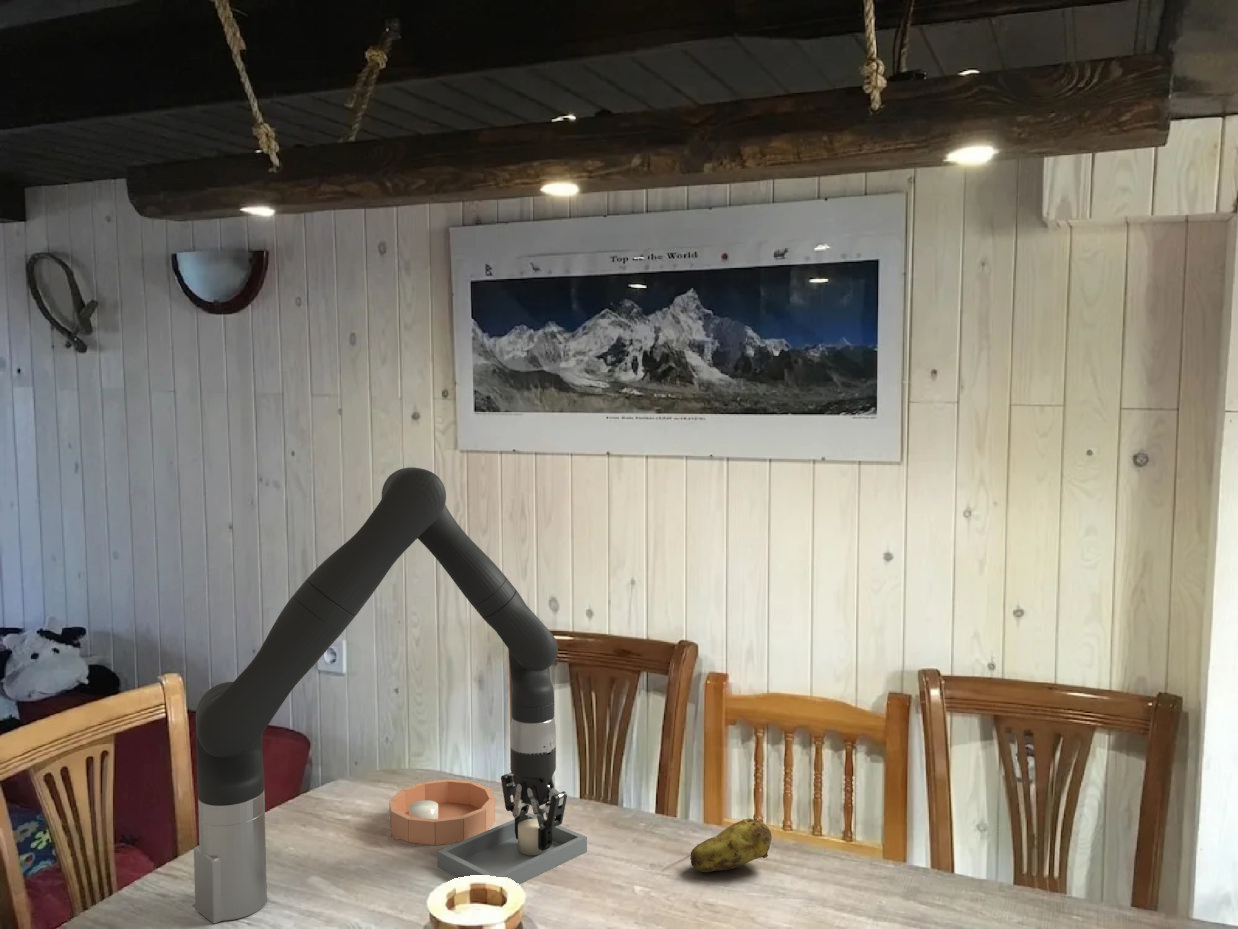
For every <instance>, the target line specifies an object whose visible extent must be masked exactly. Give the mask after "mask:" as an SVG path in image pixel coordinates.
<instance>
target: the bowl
mask: <svg viewBox="0 0 1238 929" xmlns="http://www.w3.org/2000/svg"><path fill="white" fill-rule="evenodd" d="M423 800H429V801H434V802H436V803H437V804H438V819H427V818H417V817H411V816H409V806H410V805H411V804H412V803H414V802H417V801H423ZM388 802H389V803H388V806H389V808H388V809H389V811H388V812H389V813H388V814H389V815H388V816H389V819H388V820H389V826H390V835H391V838H392V839H393V840H394V841H397V840H400V839H401V840H403V841H404V842H407V843H412V844H418V845H419V844H420V845H427V846H428V845H431V846H439V845H447V844H449V845H450V844H456V843H459V842H461V841H463V840H466V839H468V838H471V837H473V836H475V835H478V834H480V833H483V832H485V831H488V830H490V829H491V827H492V825H493V824H494V823H495V821H496V798H495V796H494V793H493V792H492V789H491V788H490V787H488V786H486V785H483V784H481V783H478V782H476V781H471V780H462V779H461V780H459V779H450V778H449V779H439V780H431V781H423V782H420V783H417V784H414V785H411V786H408V787H406V788H402V789H400V790H399V791H398V792H397V793H396V794H394V796H392V797H391V798H390V799H389V800H388Z"/></svg>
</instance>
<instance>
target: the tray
mask: <svg viewBox="0 0 1238 929" xmlns="http://www.w3.org/2000/svg"><path fill="white" fill-rule="evenodd" d="M526 815H528V819H537V816H536V815H534V813H531V812H529V813H527V814H526ZM587 852H588V836H586V835H583V834H581V833H579V832H576V831H574V830H572V829H569V828H567V827H564V826H561V825H558V826H555V827H553V828H552V845H551V846H550V848H548V850H547V851H546V852H545V853H543V854H540V855H525V854H522V853H520V852H519V851H518V839H516V835H515V818H514V819H512V820H509V821H507V822H505V823H502V824H499V825H498V826H495V827H492V828H489V829H488V830H487V831H485V832H483V833H480V834H478V835H475V836H473V837H471V838H468V839H466V840H463V841H461V842H456V843H453V844H451V845H450V846H447V847H445V848H442V849H440V850H437V854H436V856H437V862H436V864H437V868H439V869H441V870H443V871H445V872H447V873H449V874H450V875H452V876H454V877H456V878H458V877H464V876H470V875H490V876H496V877H508V878H511V879H512V880H514V881H515V882H516V883H519V885H521V884H523V883H526V882H528V881H530V880H531V879H532V880H533V879H534V878H536V877H538V876H541V875H542V874H544V873H546V872H548V871H550V870H553V869H554V868H557V867H558V866H561V865H563V864H565V863H567V862H570V861H571V860H573V859H575V858H577V857H580V856H581V855H584V854H585V853H587Z"/></svg>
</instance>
